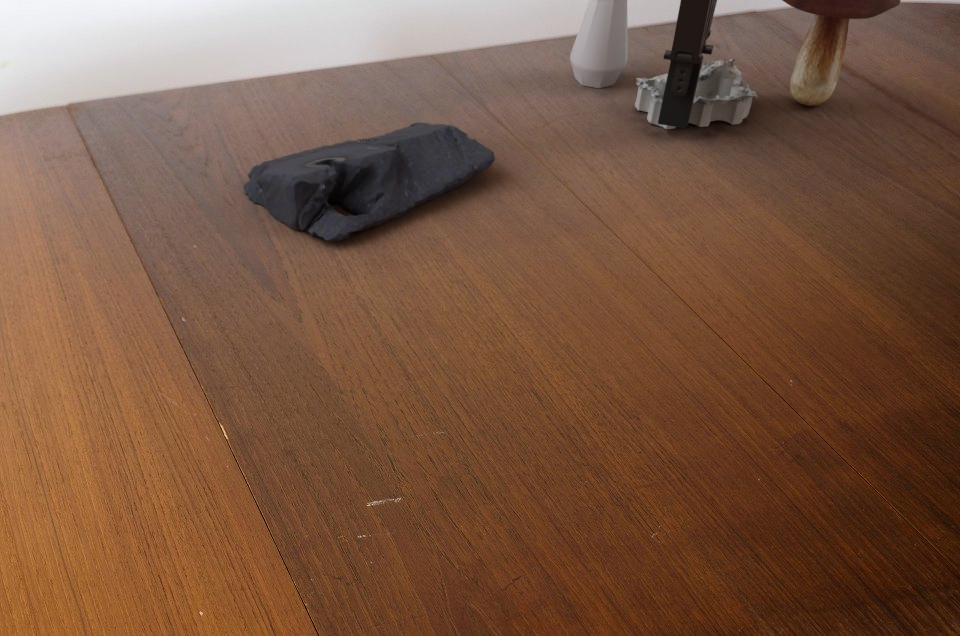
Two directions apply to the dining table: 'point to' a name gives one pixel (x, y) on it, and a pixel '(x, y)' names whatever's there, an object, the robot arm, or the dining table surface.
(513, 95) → the dining table surface
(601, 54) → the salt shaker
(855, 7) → the decorative mushroom
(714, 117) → the egg carton
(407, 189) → the dark slate chunk
